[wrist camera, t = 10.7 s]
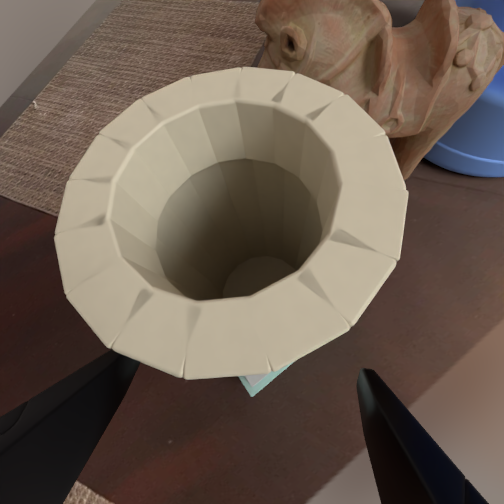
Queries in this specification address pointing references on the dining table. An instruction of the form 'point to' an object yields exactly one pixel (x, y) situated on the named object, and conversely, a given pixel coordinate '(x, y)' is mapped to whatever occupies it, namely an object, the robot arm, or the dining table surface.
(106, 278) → the jar
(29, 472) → the robot arm
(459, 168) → the water jug
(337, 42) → the figurine
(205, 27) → the dining table surface
